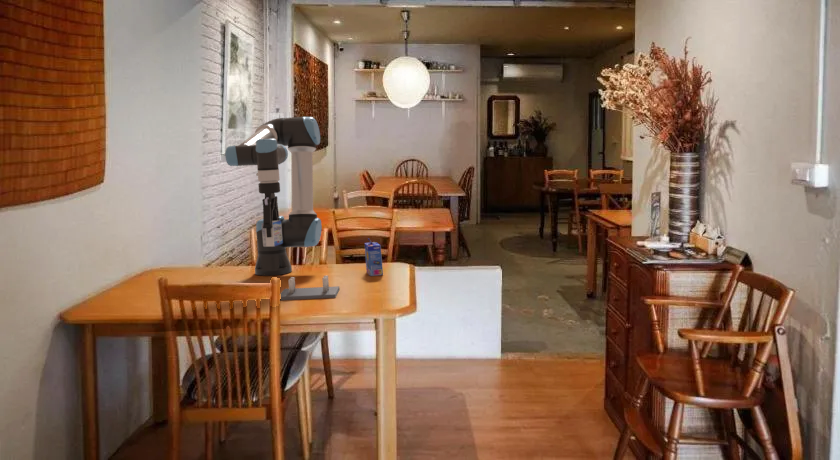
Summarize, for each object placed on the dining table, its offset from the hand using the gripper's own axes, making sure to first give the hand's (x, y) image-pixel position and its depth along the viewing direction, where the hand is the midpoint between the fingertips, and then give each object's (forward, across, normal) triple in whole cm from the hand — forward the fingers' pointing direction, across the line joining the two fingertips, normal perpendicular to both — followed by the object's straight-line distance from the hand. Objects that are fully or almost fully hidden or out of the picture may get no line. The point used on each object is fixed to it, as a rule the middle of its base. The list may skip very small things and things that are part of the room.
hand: (273, 244), depth 283 cm
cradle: (+18, +7, +13) cm, 23 cm away
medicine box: (+1, 0, 0) cm, 1 cm away
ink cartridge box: (+18, -30, +34) cm, 48 cm away
